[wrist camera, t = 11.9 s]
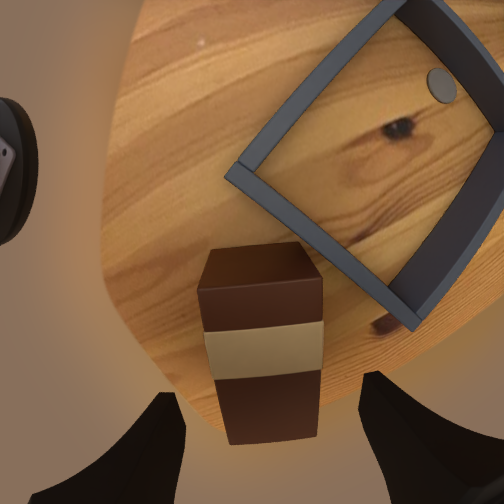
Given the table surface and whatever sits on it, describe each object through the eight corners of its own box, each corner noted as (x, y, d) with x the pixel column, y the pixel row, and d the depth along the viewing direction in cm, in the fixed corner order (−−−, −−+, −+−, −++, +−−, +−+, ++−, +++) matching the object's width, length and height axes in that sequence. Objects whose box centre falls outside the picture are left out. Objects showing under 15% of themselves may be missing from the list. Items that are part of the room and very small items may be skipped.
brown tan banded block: (230, 385, 18) (228, 446, 13) (209, 249, 15) (194, 289, 11) (303, 378, 18) (318, 437, 13) (299, 240, 15) (324, 277, 11)
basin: (227, 174, 14) (223, 177, 11) (387, -2, 11) (412, -28, 8) (386, 304, 17) (412, 333, 13) (504, 133, 14) (539, 134, 10)
